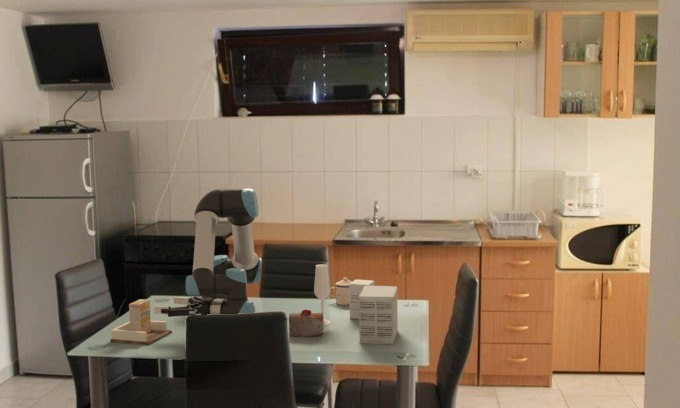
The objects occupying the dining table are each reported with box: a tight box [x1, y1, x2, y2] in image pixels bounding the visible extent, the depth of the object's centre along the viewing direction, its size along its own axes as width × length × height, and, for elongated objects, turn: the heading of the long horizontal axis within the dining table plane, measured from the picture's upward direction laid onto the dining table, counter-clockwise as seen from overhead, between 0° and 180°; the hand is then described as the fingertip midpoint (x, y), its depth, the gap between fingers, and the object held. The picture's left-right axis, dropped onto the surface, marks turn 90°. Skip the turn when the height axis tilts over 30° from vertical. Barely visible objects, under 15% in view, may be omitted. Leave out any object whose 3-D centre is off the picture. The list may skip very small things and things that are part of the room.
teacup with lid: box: [329, 277, 353, 306], centre depth 315 cm, size 12×9×12 cm
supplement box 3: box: [358, 285, 398, 345], centre depth 263 cm, size 17×13×18 cm
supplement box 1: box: [128, 298, 152, 333], centre depth 268 cm, size 8×5×13 cm, turn 167°
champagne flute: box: [313, 263, 331, 326], centre depth 283 cm, size 7×7×24 cm
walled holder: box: [110, 319, 173, 346], centre depth 269 cm, size 17×16×4 cm
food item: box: [288, 309, 325, 338], centre depth 268 cm, size 14×8×10 cm, turn 89°
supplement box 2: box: [348, 279, 376, 320], centre depth 292 cm, size 9×9×15 cm
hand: (164, 304), depth 266 cm, fingers open, 13 cm apart
